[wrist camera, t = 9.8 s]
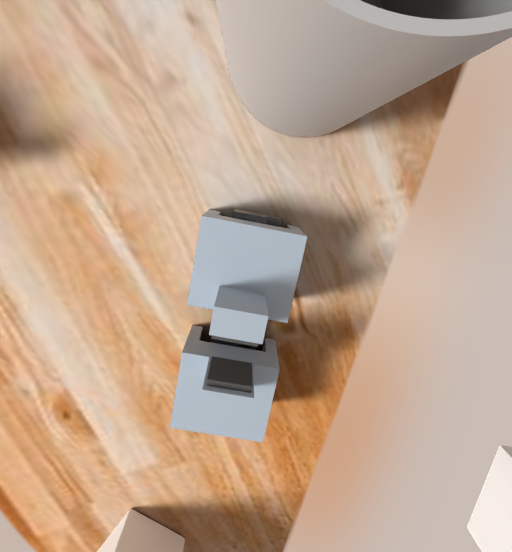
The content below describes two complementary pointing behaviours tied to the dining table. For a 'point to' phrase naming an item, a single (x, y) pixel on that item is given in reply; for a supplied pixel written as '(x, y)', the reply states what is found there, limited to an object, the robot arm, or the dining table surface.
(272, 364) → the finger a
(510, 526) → the robot arm
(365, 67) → the cylinder vase
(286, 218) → the dining table surface
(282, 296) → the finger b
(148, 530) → the milk carton
